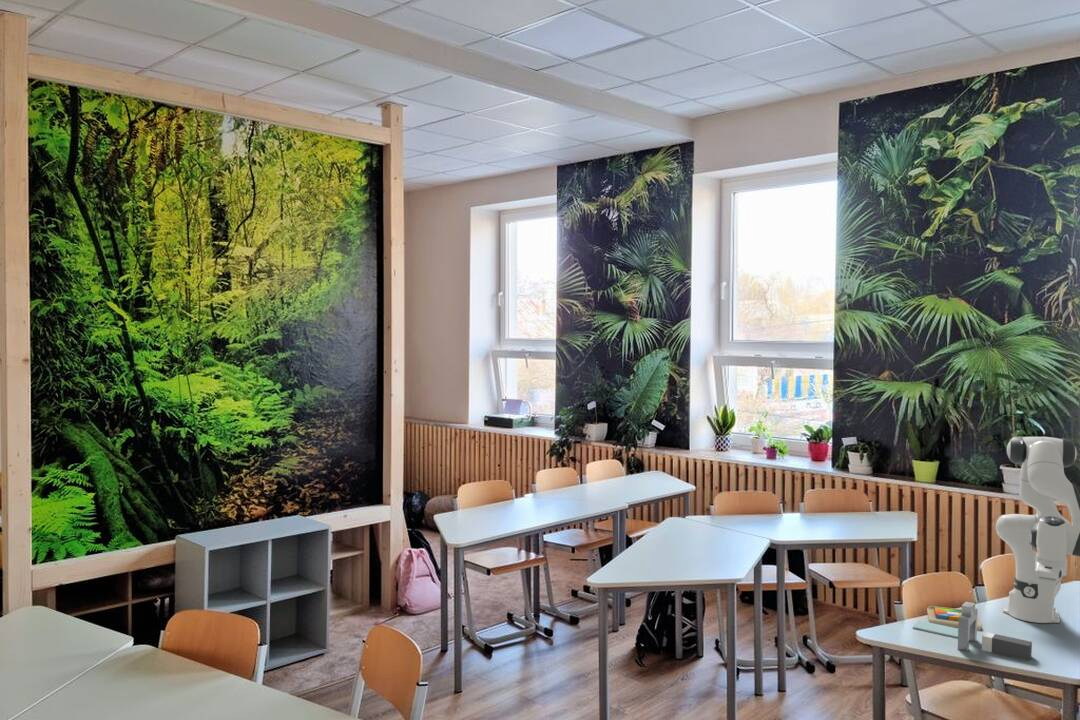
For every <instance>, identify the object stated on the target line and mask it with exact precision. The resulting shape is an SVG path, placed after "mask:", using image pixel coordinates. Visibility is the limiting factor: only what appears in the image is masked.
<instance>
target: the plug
mask: <svg viewBox="0 0 1080 720" xmlns="http://www.w3.org/2000/svg"><path fill="white" fill-rule="evenodd" d="M1032 646H1033V641H1032V640H1031V641H1029V640H1025V639H1020V638H1015V637H1013V636H1012V637H1011V636H1005V635H1001V634H996V633H991V632H988V631H984V633H983V634H982V635H981V651H983V652H987V651H988V653H991V652H992V654H997V655H1000V656H1004V657H1005V656H1006V657H1010V658H1013V659H1017V660H1023V661H1028V662H1029V661H1030V660H1031V658H1032V652H1033V651H1032V650H1033V649H1032V648H1033V647H1032Z"/></svg>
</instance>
